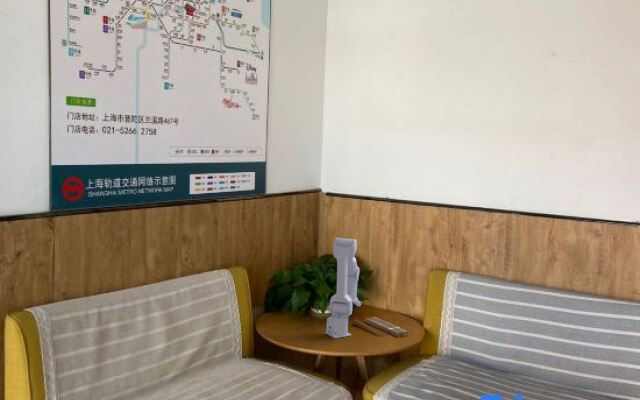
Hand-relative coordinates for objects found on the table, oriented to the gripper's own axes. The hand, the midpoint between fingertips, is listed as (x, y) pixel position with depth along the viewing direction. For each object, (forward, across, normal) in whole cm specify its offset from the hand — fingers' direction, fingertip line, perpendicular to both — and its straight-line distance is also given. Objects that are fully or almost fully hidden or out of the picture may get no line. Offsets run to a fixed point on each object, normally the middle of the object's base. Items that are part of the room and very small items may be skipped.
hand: (349, 316), depth 284 cm
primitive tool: (+3, -15, 0) cm, 16 cm away
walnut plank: (+2, -17, -9) cm, 19 cm away
